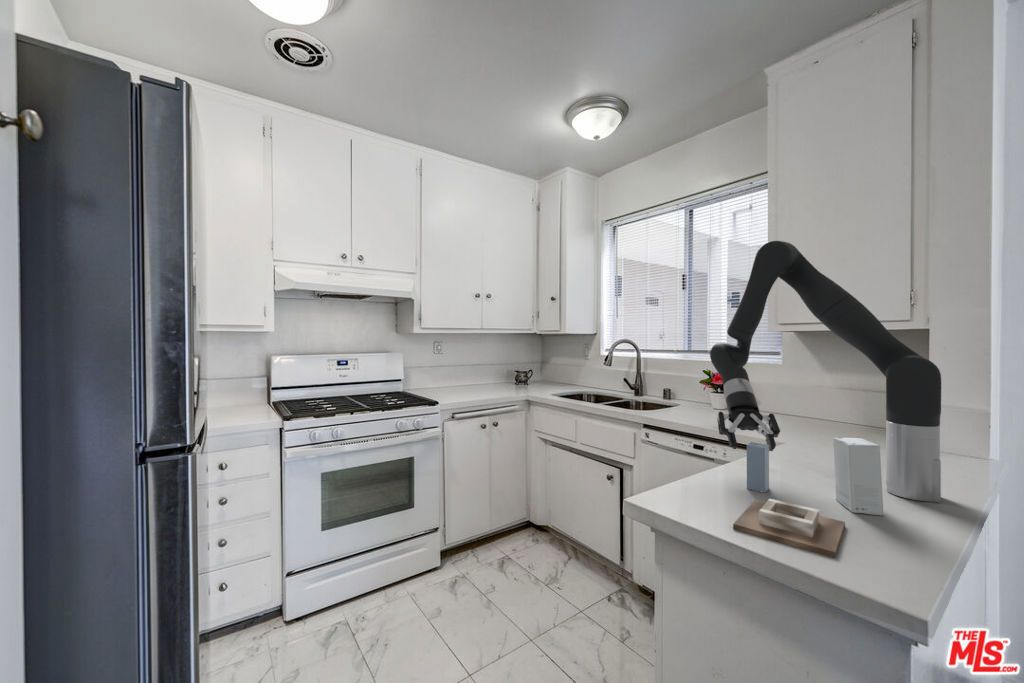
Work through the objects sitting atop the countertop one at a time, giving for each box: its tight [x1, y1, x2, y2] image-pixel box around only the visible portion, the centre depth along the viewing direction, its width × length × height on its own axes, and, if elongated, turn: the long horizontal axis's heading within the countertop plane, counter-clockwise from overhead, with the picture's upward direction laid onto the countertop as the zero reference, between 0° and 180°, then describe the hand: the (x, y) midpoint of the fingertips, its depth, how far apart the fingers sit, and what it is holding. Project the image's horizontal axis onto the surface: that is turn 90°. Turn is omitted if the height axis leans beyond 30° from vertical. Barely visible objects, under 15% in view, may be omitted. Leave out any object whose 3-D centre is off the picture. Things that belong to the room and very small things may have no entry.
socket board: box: [732, 498, 846, 558], centre depth 82 cm, size 16×16×4 cm
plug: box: [746, 441, 770, 493], centre depth 103 cm, size 4×4×11 cm
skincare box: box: [833, 437, 884, 517], centre depth 92 cm, size 8×6×15 cm
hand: (753, 448), depth 107 cm, fingers open, 8 cm apart
